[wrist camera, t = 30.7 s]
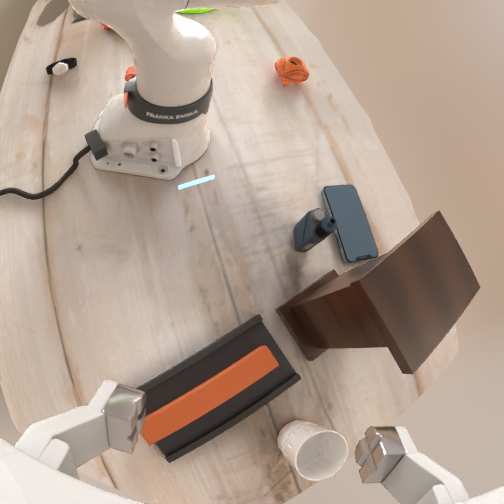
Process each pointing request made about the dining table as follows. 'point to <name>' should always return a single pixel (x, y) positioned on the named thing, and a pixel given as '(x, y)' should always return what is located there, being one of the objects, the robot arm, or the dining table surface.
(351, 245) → the smartphone
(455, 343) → the dining table surface
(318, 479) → the white cup
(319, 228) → the vaping device
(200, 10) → the wineglass
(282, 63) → the pot
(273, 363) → the orange long block
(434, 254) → the wooden display pedestal
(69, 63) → the watch
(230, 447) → the dining table surface
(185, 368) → the seat base
